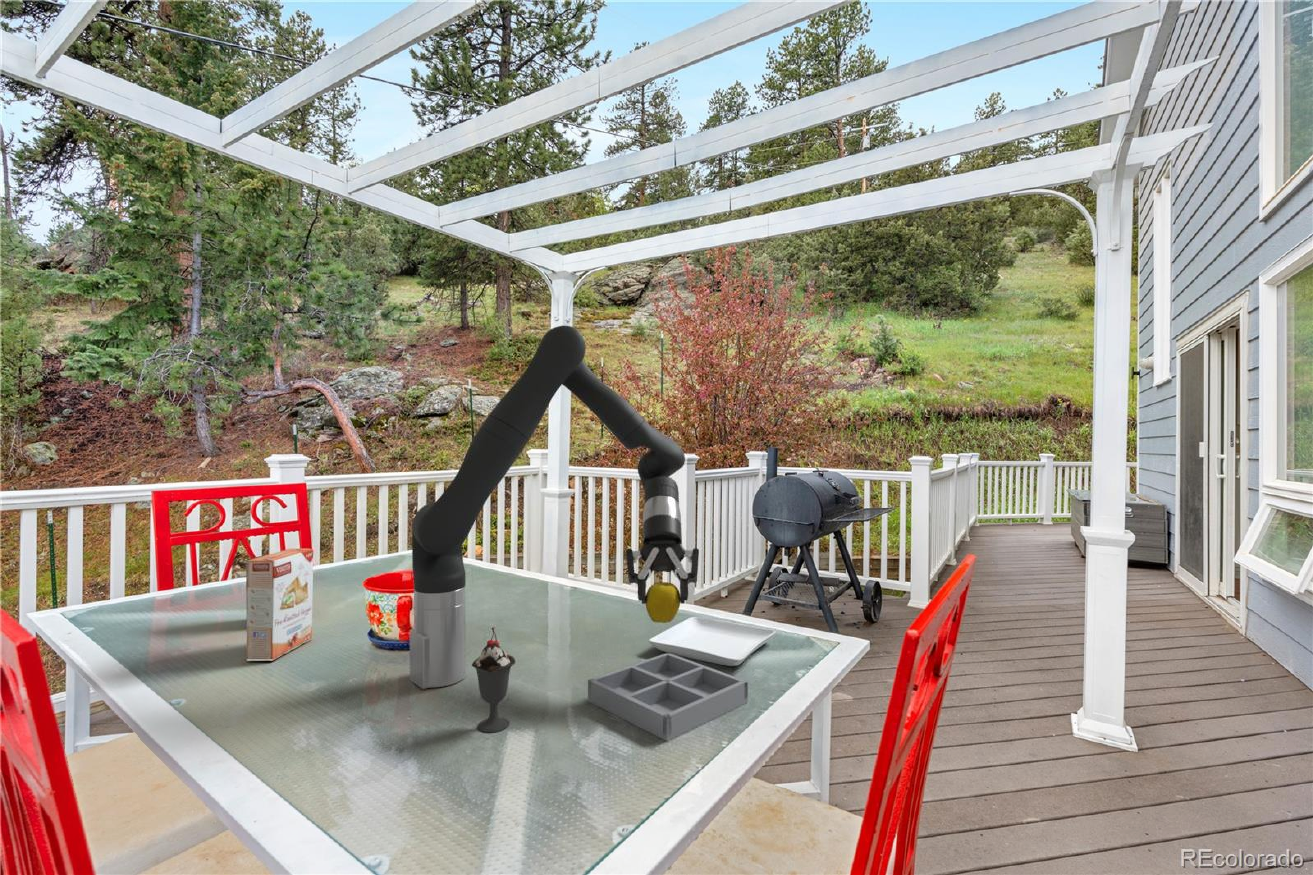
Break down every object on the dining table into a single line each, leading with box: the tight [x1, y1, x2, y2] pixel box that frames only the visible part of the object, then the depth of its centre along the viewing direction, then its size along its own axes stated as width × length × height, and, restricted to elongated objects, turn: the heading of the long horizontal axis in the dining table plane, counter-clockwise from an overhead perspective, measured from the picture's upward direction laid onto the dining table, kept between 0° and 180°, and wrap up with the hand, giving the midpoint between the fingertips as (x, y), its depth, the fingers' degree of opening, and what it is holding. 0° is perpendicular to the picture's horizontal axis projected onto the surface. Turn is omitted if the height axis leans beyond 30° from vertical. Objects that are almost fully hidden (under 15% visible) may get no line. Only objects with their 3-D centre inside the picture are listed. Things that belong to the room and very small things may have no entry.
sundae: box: [471, 626, 516, 734], centre depth 97 cm, size 7×7×15 cm
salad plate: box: [648, 616, 776, 667], centre depth 132 cm, size 21×21×3 cm
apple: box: [644, 580, 681, 624], centre depth 110 cm, size 6×6×8 cm
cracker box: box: [246, 548, 314, 660], centre depth 130 cm, size 14×6×21 cm, turn 179°
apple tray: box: [587, 652, 749, 742], centre depth 105 cm, size 20×20×4 cm
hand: (663, 601), depth 108 cm, fingers closed on apple, 6 cm apart
